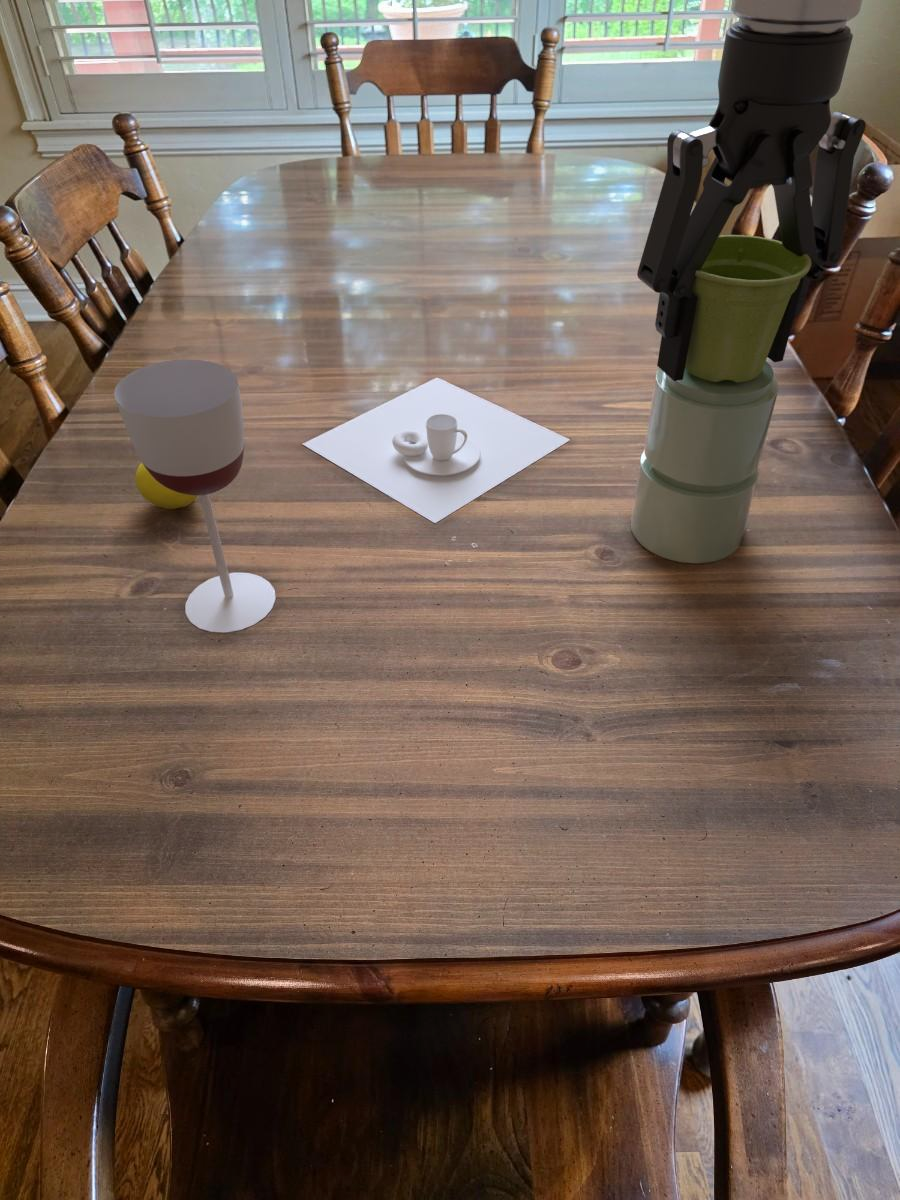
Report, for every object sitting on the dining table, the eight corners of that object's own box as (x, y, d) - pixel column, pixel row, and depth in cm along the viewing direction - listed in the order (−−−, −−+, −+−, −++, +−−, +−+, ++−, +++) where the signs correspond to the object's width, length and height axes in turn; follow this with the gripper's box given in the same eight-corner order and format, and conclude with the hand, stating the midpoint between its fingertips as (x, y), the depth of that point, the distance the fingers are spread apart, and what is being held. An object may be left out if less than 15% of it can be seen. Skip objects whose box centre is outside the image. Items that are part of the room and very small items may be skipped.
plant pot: (636, 365, 69) (651, 255, 63) (707, 330, 74) (727, 224, 68) (736, 408, 64) (762, 292, 58) (806, 368, 68) (837, 256, 62)
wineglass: (237, 649, 69) (181, 429, 56) (159, 611, 72) (88, 396, 59) (300, 591, 74) (263, 377, 60) (224, 558, 77) (172, 349, 64)
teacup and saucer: (381, 455, 89) (378, 420, 87) (436, 425, 94) (435, 391, 91) (441, 488, 85) (440, 453, 82) (496, 456, 89) (497, 421, 86)
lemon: (130, 516, 82) (114, 468, 79) (155, 484, 86) (142, 437, 83) (199, 524, 81) (186, 476, 78) (221, 491, 85) (210, 444, 82)
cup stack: (764, 549, 77) (811, 386, 66) (663, 573, 75) (695, 409, 64) (705, 488, 84) (739, 332, 73) (611, 509, 82) (632, 351, 71)
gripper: (892, 1, 58) (805, 323, 74) (608, 24, 54) (578, 364, 69) (975, 18, 53) (862, 362, 68) (668, 46, 48) (621, 409, 64)
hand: (720, 363), depth 69 cm, fingers closed on plant pot, 8 cm apart
